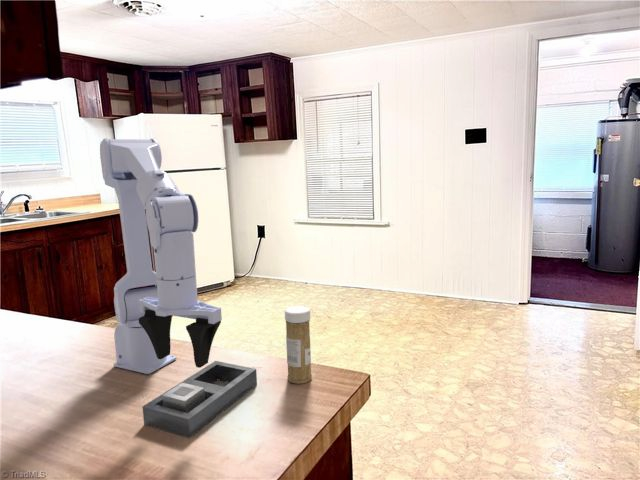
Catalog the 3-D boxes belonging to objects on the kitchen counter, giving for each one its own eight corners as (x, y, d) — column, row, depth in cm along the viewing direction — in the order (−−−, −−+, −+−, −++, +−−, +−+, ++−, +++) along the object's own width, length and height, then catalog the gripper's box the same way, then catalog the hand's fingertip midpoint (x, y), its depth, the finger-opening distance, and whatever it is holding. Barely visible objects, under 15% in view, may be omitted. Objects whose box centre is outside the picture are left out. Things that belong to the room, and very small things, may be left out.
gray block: (164, 421, 74) (162, 394, 74) (183, 408, 78) (182, 382, 78) (186, 428, 73) (184, 400, 72) (205, 413, 77) (204, 387, 76)
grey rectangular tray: (144, 424, 74) (142, 406, 73) (216, 375, 90) (215, 360, 89) (190, 438, 70) (188, 419, 69) (257, 384, 86) (256, 369, 85)
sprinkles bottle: (316, 380, 87) (315, 309, 85) (295, 387, 85) (292, 314, 82) (303, 371, 91) (301, 303, 89) (282, 377, 88) (280, 308, 86)
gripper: (120, 277, 71) (128, 363, 74) (197, 287, 65) (203, 380, 68) (154, 267, 78) (161, 346, 80) (228, 275, 71) (232, 360, 74)
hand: (182, 360), depth 74 cm, fingers open, 7 cm apart
